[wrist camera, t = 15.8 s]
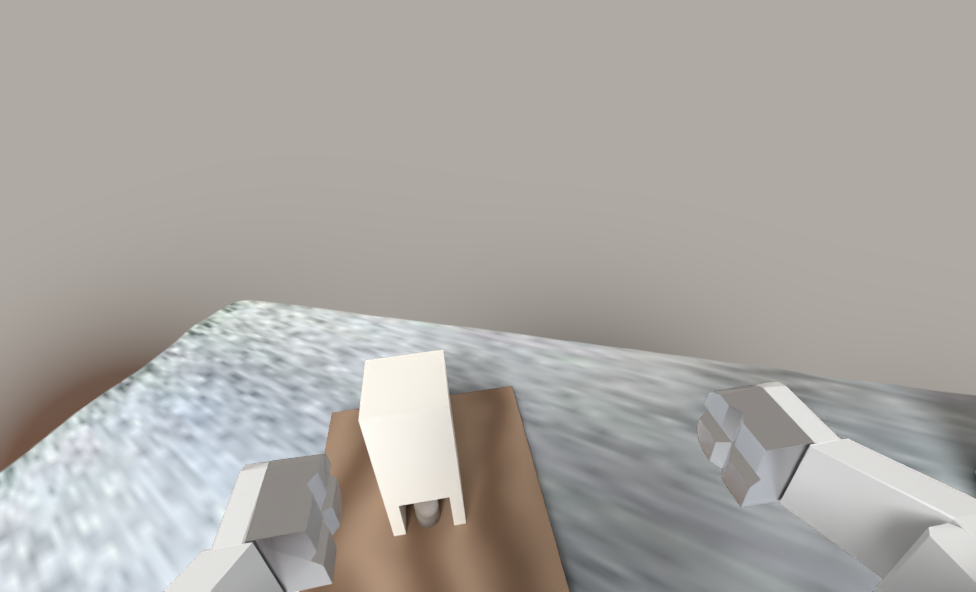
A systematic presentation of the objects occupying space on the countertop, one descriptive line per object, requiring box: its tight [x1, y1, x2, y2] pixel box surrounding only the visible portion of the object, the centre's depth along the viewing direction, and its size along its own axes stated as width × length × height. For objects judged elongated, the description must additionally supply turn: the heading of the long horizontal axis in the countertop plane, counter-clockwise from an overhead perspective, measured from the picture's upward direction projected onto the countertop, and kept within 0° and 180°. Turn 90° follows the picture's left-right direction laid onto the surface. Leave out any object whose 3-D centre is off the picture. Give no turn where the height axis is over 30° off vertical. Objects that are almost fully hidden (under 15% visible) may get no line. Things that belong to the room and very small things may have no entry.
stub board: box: [299, 386, 569, 592], centre depth 39 cm, size 20×24×4 cm
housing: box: [358, 350, 466, 536], centre depth 36 cm, size 6×6×14 cm
